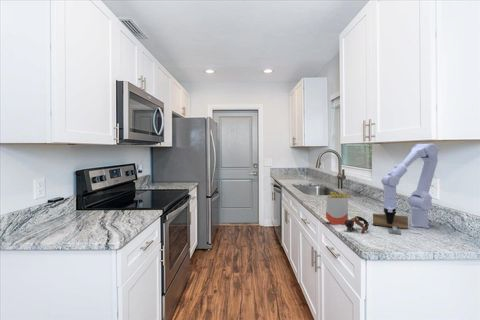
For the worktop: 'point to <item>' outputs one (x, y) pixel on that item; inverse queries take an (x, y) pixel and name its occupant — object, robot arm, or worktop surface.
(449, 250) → the worktop surface
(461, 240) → the worktop surface
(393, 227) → the fulcrum
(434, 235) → the worktop surface
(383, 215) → the batten
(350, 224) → the dark brown curved piece
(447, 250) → the worktop surface
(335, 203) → the french fries container
